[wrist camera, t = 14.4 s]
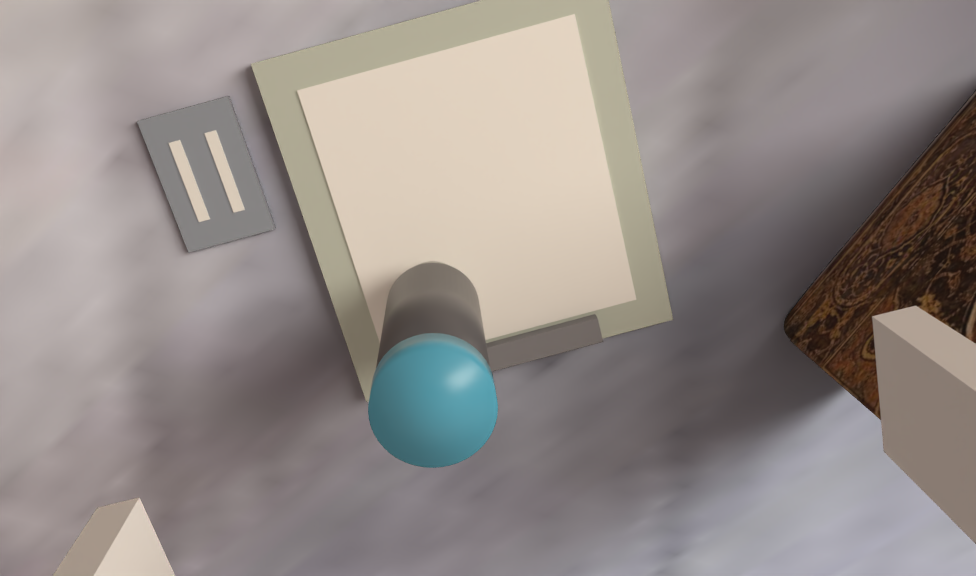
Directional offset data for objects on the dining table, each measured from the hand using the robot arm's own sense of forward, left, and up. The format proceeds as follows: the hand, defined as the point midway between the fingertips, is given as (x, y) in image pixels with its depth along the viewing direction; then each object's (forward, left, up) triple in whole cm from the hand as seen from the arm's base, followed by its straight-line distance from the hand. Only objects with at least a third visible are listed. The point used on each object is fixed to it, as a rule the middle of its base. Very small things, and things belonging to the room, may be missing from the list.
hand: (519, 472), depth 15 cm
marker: (+4, -3, -23) cm, 23 cm away
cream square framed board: (0, 0, -24) cm, 24 cm away
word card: (-4, -11, -24) cm, 26 cm away
